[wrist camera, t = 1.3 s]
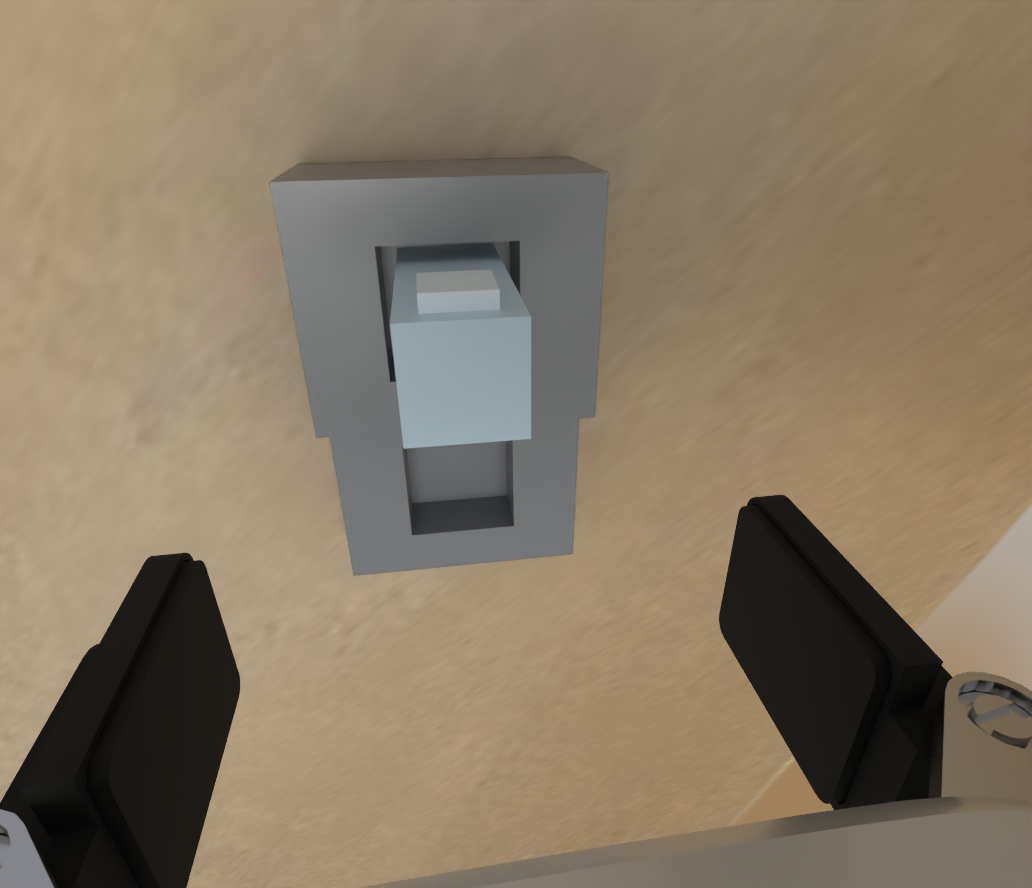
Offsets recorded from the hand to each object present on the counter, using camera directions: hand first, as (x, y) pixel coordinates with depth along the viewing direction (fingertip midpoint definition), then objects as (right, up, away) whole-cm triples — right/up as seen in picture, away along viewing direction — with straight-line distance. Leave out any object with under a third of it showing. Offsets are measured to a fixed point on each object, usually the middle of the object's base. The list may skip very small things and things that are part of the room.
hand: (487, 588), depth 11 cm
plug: (-2, +9, +16) cm, 19 cm away
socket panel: (-3, +6, +22) cm, 23 cm away
